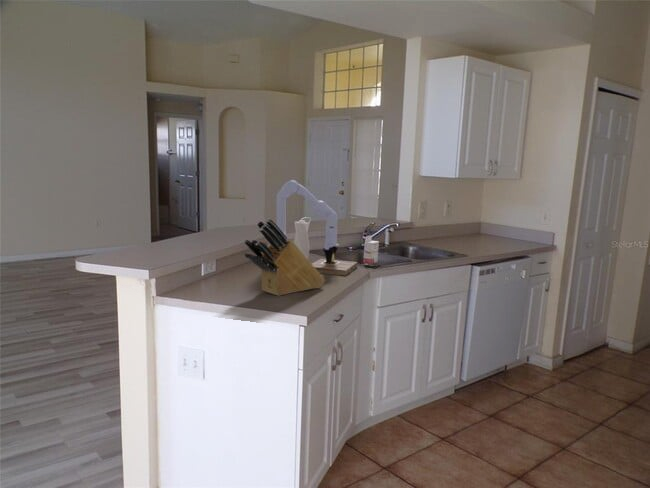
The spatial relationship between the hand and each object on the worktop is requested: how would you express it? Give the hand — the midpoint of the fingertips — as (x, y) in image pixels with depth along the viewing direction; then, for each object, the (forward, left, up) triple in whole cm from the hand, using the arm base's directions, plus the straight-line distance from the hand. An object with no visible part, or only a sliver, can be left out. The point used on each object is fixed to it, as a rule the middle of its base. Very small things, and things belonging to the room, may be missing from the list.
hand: (330, 261), depth 254 cm
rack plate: (-2, -2, -3) cm, 4 cm away
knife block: (-52, +3, -4) cm, 53 cm away
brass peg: (0, 0, -2) cm, 2 cm away
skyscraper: (-25, +7, -4) cm, 26 cm away
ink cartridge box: (+24, -16, -4) cm, 29 cm away
